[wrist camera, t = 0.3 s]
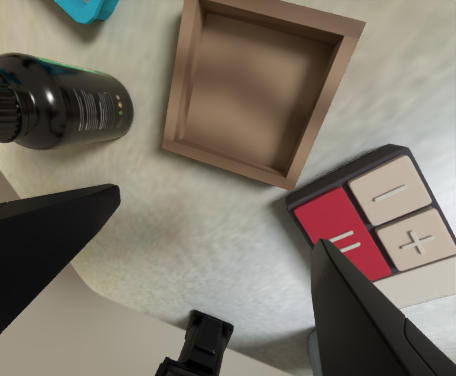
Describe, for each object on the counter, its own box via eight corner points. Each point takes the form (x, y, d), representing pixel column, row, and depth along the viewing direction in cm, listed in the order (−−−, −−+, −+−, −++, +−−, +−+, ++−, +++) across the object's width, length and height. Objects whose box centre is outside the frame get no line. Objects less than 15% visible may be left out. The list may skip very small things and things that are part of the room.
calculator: (414, 145, 16) (490, 294, 18) (386, 140, 20) (451, 263, 22) (285, 209, 20) (360, 327, 22) (283, 195, 24) (347, 295, 26)
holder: (289, 180, 22) (292, 191, 19) (175, 143, 23) (161, 148, 20) (349, 38, 17) (366, 22, 14) (201, -1, 18) (187, -23, 15)
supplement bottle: (100, 57, 22) (-81, -1, 11) (147, 108, 22) (27, 104, 11) (71, 106, 24) (-100, 101, 13) (114, 151, 25) (-11, 181, 14)
